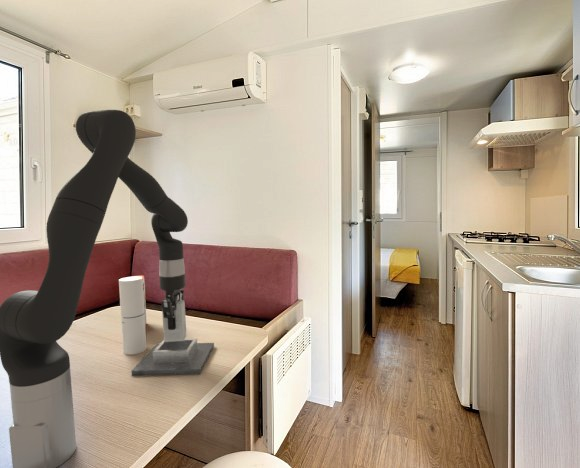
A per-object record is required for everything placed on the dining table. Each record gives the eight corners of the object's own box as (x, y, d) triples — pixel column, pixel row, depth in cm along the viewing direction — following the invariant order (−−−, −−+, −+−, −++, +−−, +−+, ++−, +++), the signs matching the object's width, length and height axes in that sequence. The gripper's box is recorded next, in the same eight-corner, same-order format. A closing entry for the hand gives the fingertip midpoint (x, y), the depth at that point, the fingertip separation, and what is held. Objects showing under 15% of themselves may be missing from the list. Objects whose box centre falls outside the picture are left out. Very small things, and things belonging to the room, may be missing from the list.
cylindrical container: (137, 355, 105) (132, 281, 103) (118, 353, 107) (113, 280, 104) (150, 346, 112) (146, 276, 110) (132, 344, 114) (128, 276, 111)
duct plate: (200, 374, 93) (199, 357, 92) (131, 375, 93) (130, 359, 92) (214, 346, 111) (213, 333, 110) (156, 348, 111) (155, 334, 110)
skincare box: (186, 336, 103) (185, 300, 102) (183, 341, 99) (181, 304, 98) (167, 336, 103) (165, 300, 102) (163, 342, 99) (161, 304, 98)
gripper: (176, 278, 92) (179, 335, 94) (191, 268, 106) (193, 318, 108) (150, 278, 92) (153, 335, 93) (168, 268, 106) (171, 318, 108)
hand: (174, 326), depth 101 cm, fingers closed on skincare box, 4 cm apart
